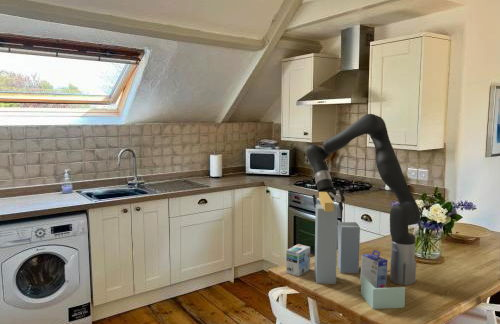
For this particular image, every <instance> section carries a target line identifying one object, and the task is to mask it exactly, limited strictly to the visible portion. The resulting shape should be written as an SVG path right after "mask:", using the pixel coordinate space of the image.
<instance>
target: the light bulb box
mask: <svg viewBox="0 0 500 324" xmlns="http://www.w3.org/2000/svg"><path fill="white" fill-rule="evenodd" d="M285 255H286V265H285V266H286V274H289V275H293V276H297V277H300V276H301V275H303V274H305V273H306V272H308V271H310V270H311V246H308V245H303V244H300V243H298V244H296V245H294V246H292V247H290V248H288V249H286V254H285Z"/></svg>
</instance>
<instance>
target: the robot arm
mask: <svg viewBox="0 0 500 324" xmlns="http://www.w3.org/2000/svg"><path fill="white" fill-rule="evenodd" d="M363 135H369V136H370V138H371V140H372V143H373V145H374V149H375V165H376V169H377V171H378V174H379V177H380V179H381V181H382V182H383V183H384V184H385V185H386V186H387V187H388V189H390V190H391V192H393V193H394V195H395V196H396V198H397V201H398V203H397V204H395V205H392V207H391V209H390V212H389V233H390V236H391V242H390V243H391V245H390V246H391V247H390V272H389V275H390V277H389V280H390V281H391V282H393V283H394V284H398V285H401V286H403V287H405V286H409V285H412V284H416V275H417V274H416V273H417V261H416V260H415V252H416V251H415V250H416V237H415V235H414V234H413V233H410V232H409V226H412V225H417V224H418V223H420V220H421V211H420V208H419V206H418V204H417V202H416V199H415V198H414V195H413V194H412V191H411V190H410V187H409V185H408V183H407V181H406V177H405V175H404V173H403V170H402V167H401V165H400V162H399V159H398V158H397V155H396V153H395V150H394V148H393V145H392V143H391V140H390V137H389V134H388V128H387V125H386V122H385V120H384V118H382V117H381V116H379V115H377V114H373V113H367V114H365V115H363V116H361V117H360V118H359V119H357V120H356V121H355V122H354V123H352V124H351V125H349V126H348V127H346V128H345V129H343V130H342V131H340V132H339V133H337V134H334V135H333V136H331V137H329V138H328V139H326V140H324V141H323V143H322V146H319V145H316V144H309V145H308V146H307V148H306V150H305V152H306V158H307V159H308V162H309V163H310V166H311V167H312V171H313V174H314V179H315V180H314V181H315V184H316V188H317V192H318V194H317V195H316V194H312V201H313V206H314V209H316V204H317V200H318V199H319V192H327V193H328V195H329V196H330V198H331V199H332V201H333V202H336V203H337V204H338V207H339V211H340V213H342V212H343V210H344V207H343V203H345V201H346V198H345V196H344V193H343V191H342V189H341V188H339V189H338V190H336V189H335V187H334V184H333V181H332V177H331V173H330V171H329V167H328V165H327V163H326V162H325V160H326V159H327V158H328V157H330V156H331V155H332V154H333V153H335V152H338V151H339V150H341V149H343V148H345V147H346V146H347V145H348V144H350V142H352V141H353V140H354V139H356V138H358V137H361V136H363ZM337 195H338V196H339V197H340V198H339V197H338V196H337ZM318 204H321V203H320V202H319V203H318Z"/></svg>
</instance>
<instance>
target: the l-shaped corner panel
mask: <svg viewBox="0 0 500 324" xmlns="http://www.w3.org/2000/svg"><path fill="white" fill-rule="evenodd" d="M360 277H361V282H360V283H361V285H360V287H361V288H360V295H361V296H362V297H363V299H364V300H365V301H366V303H367V304H368V305H369V307H371V309H372V310H375V309H376V310H379V309H398V308H399V309H400V308H405V304H406V303H405V302H406V301H405V299H406V287H405V286H397V287H396V286H395V287H394V286H393V287H386V288H375V287H374V286H373V285H372V284H371V283H370V282H369V281H368V280H367V278H366V277H365V276H361V275H360Z"/></svg>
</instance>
